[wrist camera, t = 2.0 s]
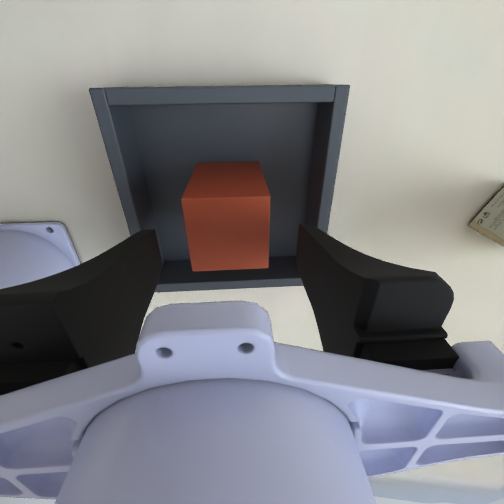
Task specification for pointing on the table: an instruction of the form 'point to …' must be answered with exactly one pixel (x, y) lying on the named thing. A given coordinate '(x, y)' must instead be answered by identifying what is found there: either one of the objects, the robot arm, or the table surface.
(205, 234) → the red block
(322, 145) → the tub
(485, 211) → the cosmetic box
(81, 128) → the table surface
